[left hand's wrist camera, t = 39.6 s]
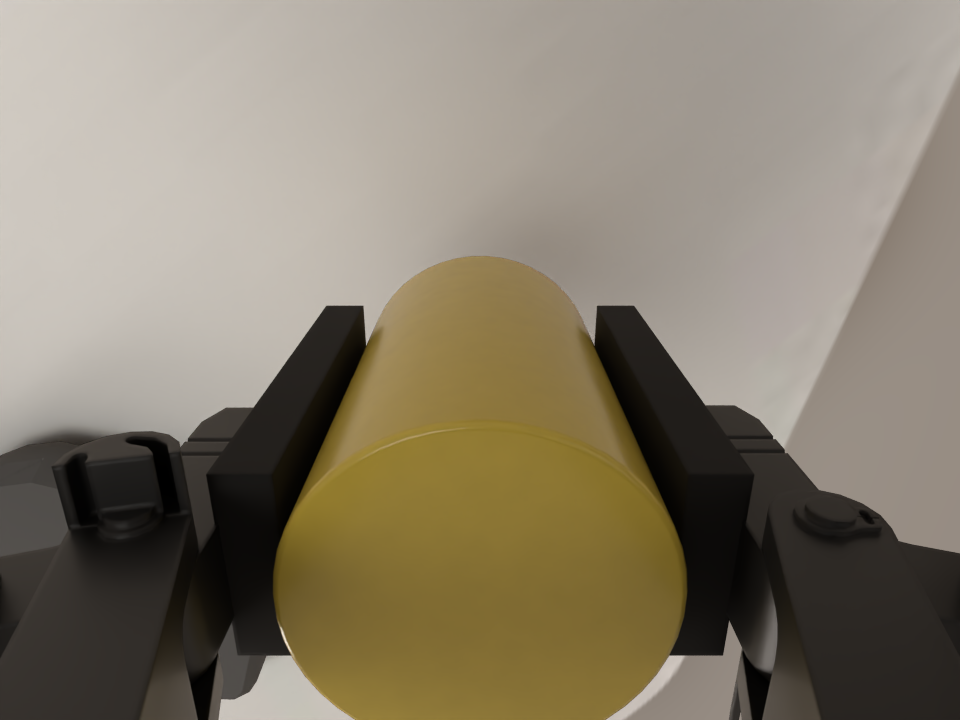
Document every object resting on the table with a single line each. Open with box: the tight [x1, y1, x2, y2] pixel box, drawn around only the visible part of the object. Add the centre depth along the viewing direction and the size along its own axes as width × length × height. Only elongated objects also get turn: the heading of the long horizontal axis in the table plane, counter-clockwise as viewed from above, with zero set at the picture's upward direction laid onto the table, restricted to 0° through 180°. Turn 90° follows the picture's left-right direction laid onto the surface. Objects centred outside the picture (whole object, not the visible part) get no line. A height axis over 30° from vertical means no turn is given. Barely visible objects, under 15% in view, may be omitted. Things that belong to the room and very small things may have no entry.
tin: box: [273, 256, 688, 720], centre depth 11 cm, size 5×5×8 cm
